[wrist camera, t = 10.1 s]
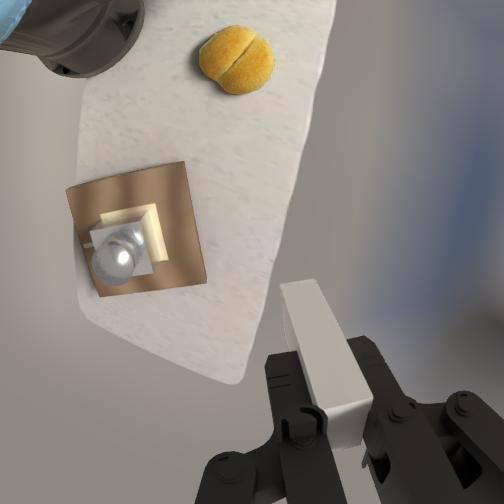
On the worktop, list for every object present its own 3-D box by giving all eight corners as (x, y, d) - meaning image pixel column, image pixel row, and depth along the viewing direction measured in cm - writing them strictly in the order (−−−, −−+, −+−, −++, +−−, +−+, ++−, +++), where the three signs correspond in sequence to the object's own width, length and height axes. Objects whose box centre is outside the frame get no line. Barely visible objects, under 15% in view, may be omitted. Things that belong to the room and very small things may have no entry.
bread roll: (243, 106, 36) (245, 104, 32) (189, 63, 33) (185, 57, 29) (287, 61, 33) (294, 55, 30) (234, 18, 31) (235, 8, 27)
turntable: (184, 160, 36) (182, 162, 35) (206, 277, 43) (206, 283, 41) (70, 187, 36) (65, 189, 34) (103, 291, 42) (99, 297, 41)
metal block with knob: (148, 209, 36) (130, 232, 29) (160, 256, 39) (147, 288, 32) (102, 218, 36) (77, 243, 29) (116, 263, 39) (96, 295, 32)
